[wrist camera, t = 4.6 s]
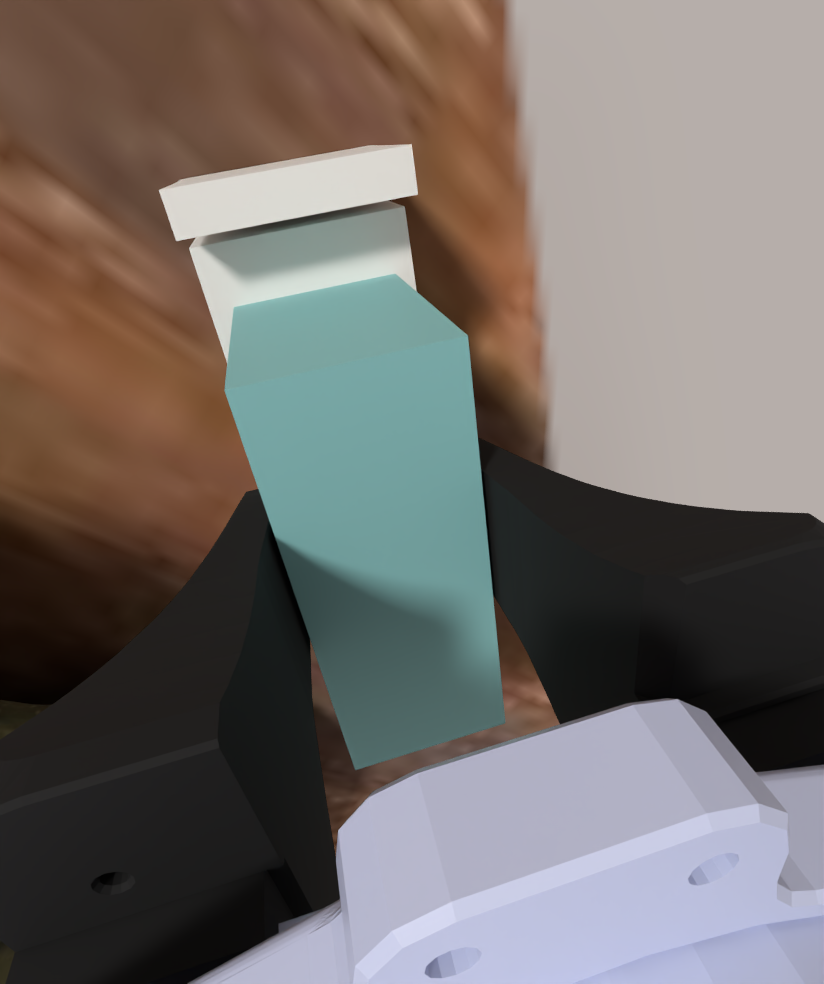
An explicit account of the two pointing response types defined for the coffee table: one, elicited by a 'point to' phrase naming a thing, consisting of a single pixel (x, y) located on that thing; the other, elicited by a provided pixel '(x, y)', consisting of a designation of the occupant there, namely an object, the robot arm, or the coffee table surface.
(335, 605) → the teal block
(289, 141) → the coffee table surface
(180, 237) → the stand
